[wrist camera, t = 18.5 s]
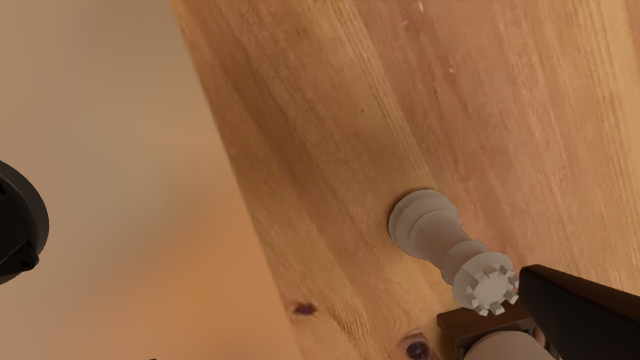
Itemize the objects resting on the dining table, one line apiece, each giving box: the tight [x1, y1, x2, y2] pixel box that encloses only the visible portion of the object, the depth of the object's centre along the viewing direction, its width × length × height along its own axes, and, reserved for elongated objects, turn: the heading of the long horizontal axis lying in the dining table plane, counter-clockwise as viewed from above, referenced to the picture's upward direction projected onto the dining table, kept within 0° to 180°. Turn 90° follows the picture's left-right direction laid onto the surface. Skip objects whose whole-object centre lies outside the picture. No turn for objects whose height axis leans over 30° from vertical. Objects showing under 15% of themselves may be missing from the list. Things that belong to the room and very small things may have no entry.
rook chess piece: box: [389, 190, 519, 316], centre depth 20 cm, size 4×4×8 cm
